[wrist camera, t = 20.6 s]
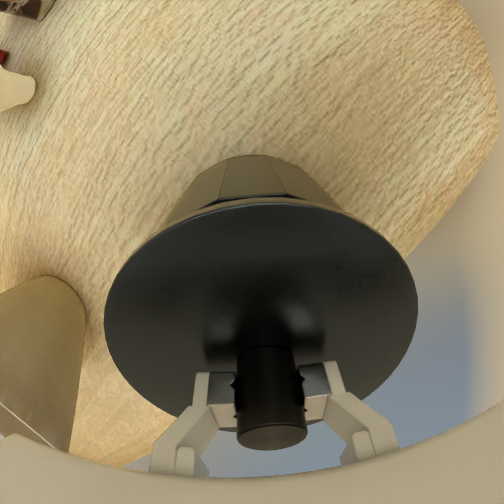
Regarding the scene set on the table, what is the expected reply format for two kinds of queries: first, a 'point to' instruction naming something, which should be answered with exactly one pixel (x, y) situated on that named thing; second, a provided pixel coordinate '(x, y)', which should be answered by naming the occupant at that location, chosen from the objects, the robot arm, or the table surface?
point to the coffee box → (26, 8)
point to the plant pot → (40, 360)
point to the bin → (248, 184)
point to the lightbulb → (14, 89)
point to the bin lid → (260, 309)
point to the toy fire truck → (2, 55)
